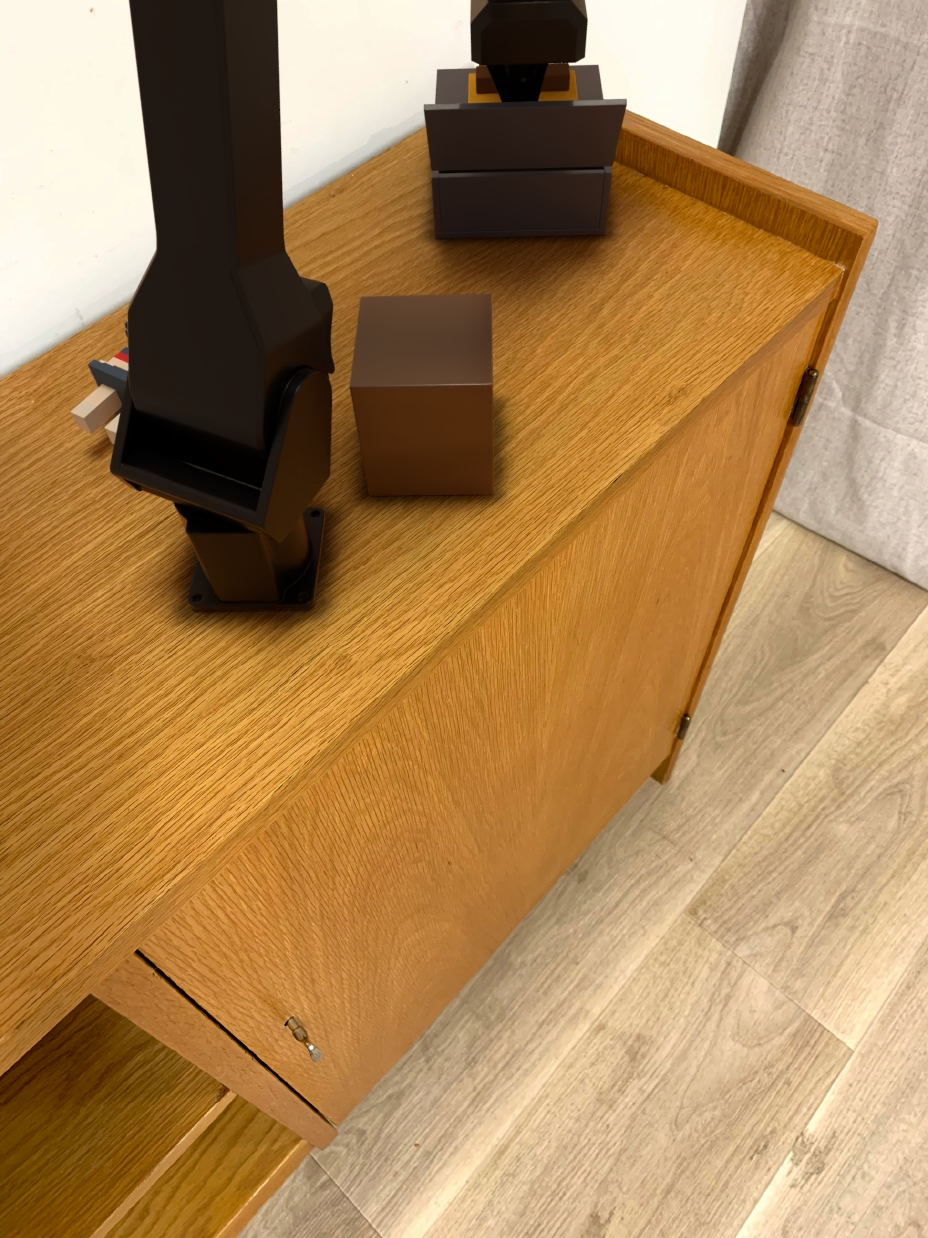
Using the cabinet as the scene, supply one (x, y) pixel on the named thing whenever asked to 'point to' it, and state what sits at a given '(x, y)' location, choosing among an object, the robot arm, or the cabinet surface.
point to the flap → (523, 134)
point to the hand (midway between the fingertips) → (521, 113)
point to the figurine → (104, 394)
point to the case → (519, 184)
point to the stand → (425, 394)
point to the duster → (554, 88)
